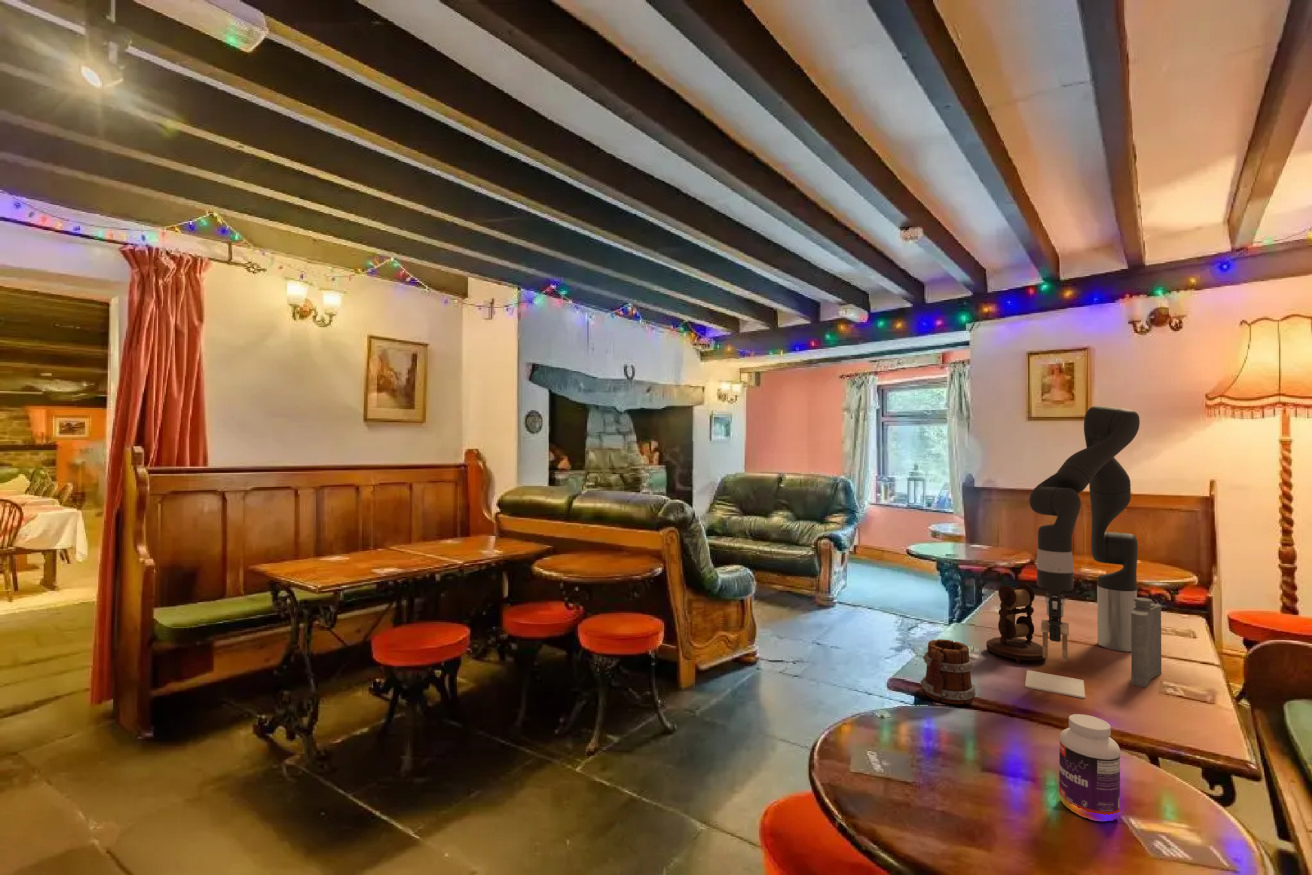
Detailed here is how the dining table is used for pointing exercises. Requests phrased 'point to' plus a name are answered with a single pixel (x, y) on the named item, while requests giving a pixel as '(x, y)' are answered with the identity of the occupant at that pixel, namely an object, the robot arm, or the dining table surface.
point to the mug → (948, 672)
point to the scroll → (1016, 625)
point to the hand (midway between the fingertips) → (1055, 637)
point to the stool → (1064, 631)
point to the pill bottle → (1089, 765)
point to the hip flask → (1145, 641)
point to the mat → (1055, 684)
